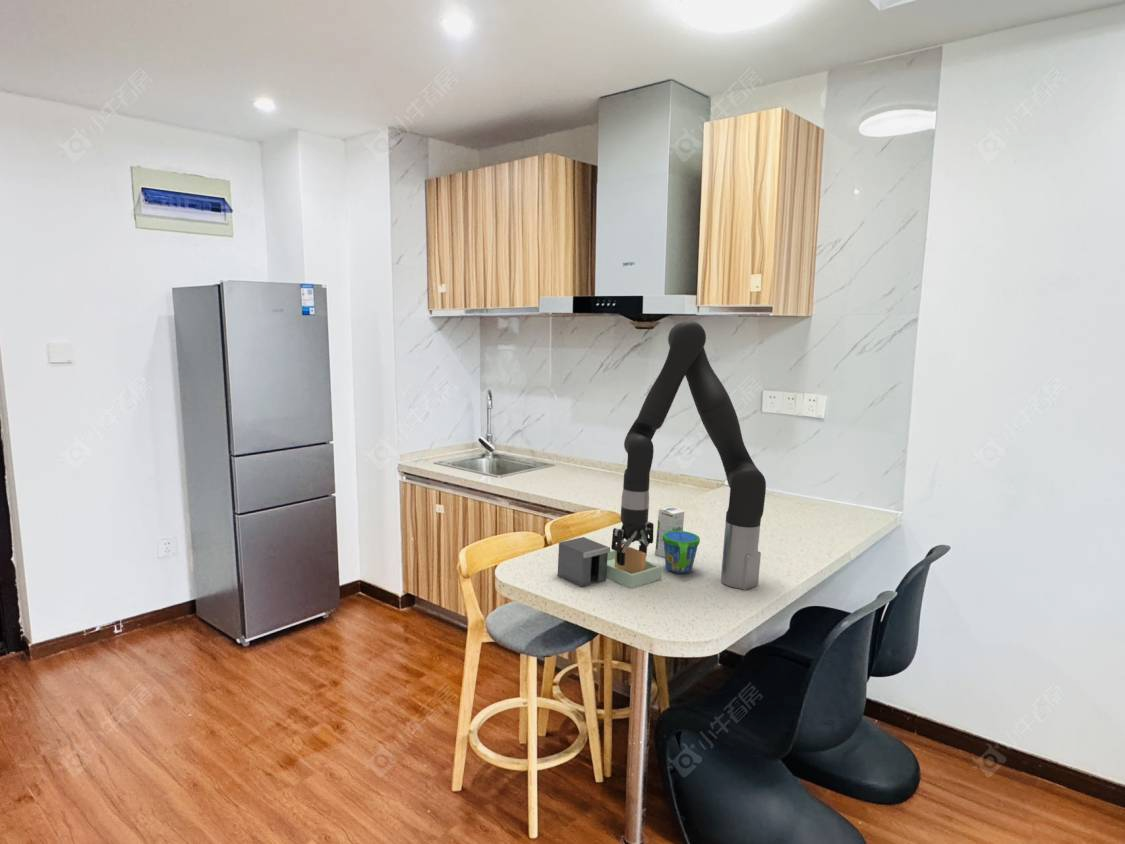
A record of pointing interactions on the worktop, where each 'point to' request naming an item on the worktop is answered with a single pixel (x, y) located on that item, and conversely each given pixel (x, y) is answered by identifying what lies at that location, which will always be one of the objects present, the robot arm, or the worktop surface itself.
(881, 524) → the worktop surface
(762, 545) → the worktop surface
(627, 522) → the robot arm
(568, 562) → the box
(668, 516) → the syrup box
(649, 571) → the tray
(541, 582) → the worktop surface
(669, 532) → the snack cup
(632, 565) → the brown rectangular block
